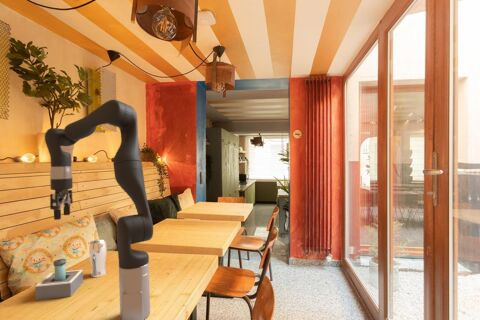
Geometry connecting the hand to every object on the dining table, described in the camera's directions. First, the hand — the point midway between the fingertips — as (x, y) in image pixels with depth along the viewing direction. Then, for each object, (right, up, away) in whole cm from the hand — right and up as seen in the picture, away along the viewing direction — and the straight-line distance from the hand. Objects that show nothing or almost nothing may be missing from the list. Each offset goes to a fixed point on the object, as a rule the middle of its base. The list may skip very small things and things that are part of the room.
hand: (62, 217), depth 110 cm
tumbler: (+8, -29, +12) cm, 32 cm away
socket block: (+1, -29, -3) cm, 29 cm away
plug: (+1, -29, -3) cm, 29 cm away
